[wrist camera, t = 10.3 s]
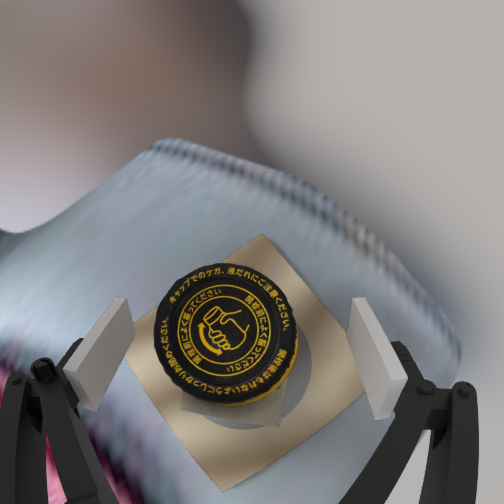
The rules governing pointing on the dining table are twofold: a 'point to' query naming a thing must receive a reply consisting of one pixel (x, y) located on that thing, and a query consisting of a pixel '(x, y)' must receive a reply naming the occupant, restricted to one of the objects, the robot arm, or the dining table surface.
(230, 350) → the condiment
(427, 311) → the dining table surface
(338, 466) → the dining table surface
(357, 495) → the robot arm
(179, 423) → the board
